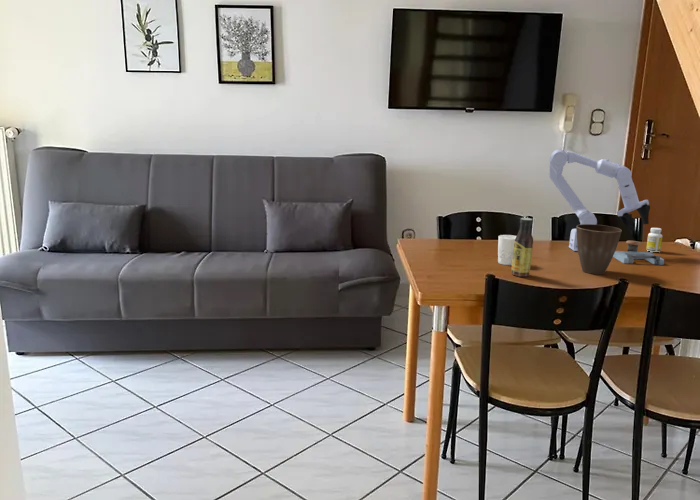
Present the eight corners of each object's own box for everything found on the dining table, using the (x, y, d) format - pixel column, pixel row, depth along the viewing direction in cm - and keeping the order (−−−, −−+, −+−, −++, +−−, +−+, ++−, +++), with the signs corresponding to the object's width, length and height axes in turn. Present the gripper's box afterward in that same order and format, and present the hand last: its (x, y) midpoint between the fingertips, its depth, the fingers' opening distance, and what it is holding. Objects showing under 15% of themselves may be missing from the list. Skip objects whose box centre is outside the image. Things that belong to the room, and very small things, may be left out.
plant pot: (579, 264, 228) (584, 222, 225) (621, 271, 219) (627, 228, 216) (565, 271, 217) (570, 227, 214) (608, 279, 208) (614, 233, 204)
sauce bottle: (508, 272, 213) (513, 216, 209) (525, 272, 214) (531, 216, 209) (514, 277, 207) (520, 219, 202) (532, 277, 207) (538, 220, 203)
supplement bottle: (657, 250, 257) (660, 227, 255) (662, 253, 252) (665, 230, 250) (643, 249, 258) (647, 227, 256) (648, 252, 253) (652, 229, 250)
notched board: (623, 263, 232) (624, 258, 232) (610, 255, 245) (611, 250, 244) (663, 264, 232) (664, 259, 231) (648, 256, 244) (649, 252, 244)
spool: (627, 256, 245) (629, 242, 244) (622, 253, 250) (624, 240, 249) (640, 256, 245) (642, 243, 244) (635, 253, 250) (637, 240, 249)
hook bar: (628, 263, 232) (629, 255, 231) (626, 262, 234) (627, 254, 233) (659, 264, 232) (660, 256, 231) (657, 263, 233) (658, 255, 233)
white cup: (518, 262, 229) (521, 236, 227) (517, 266, 222) (519, 239, 220) (497, 259, 232) (499, 234, 230) (495, 264, 225) (497, 237, 222)
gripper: (622, 200, 239) (632, 233, 240) (650, 188, 243) (660, 220, 244) (609, 201, 246) (619, 233, 247) (637, 190, 249) (647, 221, 251)
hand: (638, 227), depth 246 cm, fingers open, 7 cm apart
